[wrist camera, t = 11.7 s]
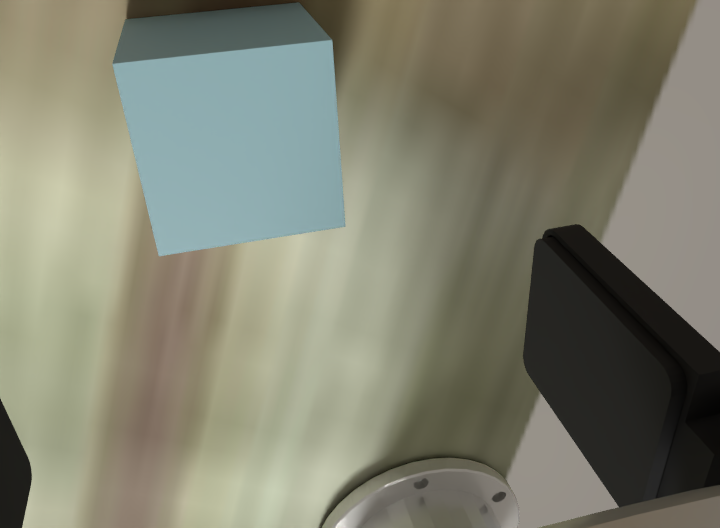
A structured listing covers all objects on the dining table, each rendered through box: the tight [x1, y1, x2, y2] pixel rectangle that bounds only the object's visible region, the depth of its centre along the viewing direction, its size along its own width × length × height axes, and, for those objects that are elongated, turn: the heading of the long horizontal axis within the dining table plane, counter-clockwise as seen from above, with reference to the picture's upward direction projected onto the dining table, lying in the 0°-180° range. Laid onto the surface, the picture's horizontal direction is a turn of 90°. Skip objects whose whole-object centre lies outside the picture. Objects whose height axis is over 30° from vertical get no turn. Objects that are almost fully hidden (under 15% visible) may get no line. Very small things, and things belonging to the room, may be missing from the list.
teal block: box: [113, 2, 345, 256], centre depth 23 cm, size 6×6×6 cm
